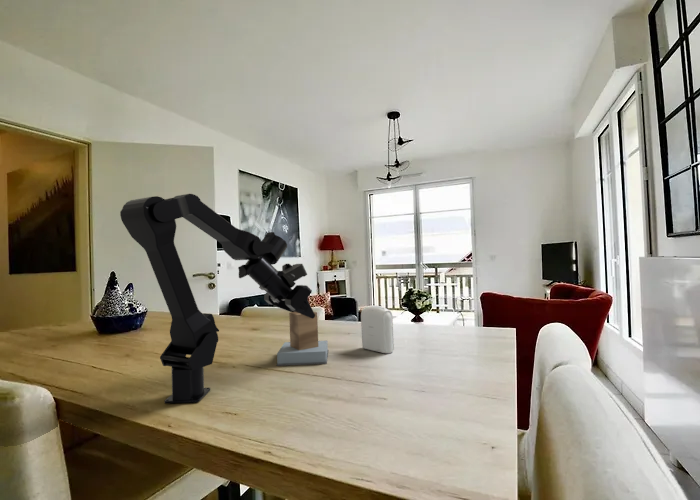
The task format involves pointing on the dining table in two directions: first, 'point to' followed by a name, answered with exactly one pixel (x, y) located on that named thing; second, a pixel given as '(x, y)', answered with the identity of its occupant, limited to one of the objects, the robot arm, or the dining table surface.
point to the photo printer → (377, 329)
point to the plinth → (302, 355)
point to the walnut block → (303, 331)
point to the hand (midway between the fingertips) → (307, 315)
